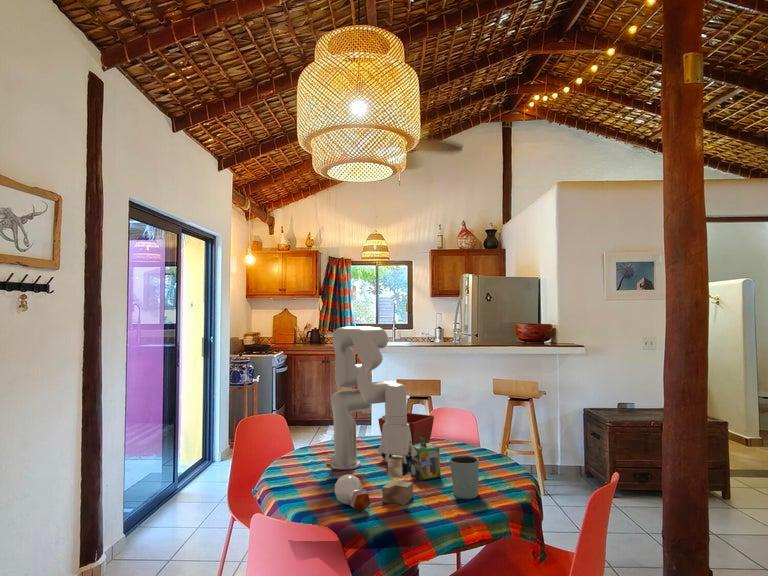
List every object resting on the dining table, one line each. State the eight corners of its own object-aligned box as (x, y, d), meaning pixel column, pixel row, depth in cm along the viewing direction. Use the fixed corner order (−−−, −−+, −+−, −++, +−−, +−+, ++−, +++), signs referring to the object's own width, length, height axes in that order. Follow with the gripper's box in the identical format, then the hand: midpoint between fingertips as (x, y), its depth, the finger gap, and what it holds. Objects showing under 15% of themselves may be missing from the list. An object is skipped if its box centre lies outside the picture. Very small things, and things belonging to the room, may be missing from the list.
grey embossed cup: (473, 501, 163) (472, 464, 164) (445, 496, 168) (444, 460, 169) (484, 492, 172) (482, 457, 173) (457, 487, 177) (456, 453, 178)
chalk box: (441, 477, 189) (440, 438, 189) (419, 480, 185) (418, 441, 186) (430, 470, 197) (429, 433, 198) (409, 473, 194) (408, 436, 195)
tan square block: (382, 502, 165) (382, 487, 165) (392, 494, 172) (391, 479, 172) (404, 505, 161) (403, 490, 162) (413, 497, 169) (412, 482, 169)
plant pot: (401, 447, 235) (400, 411, 236) (435, 452, 224) (434, 415, 225) (377, 456, 219) (377, 418, 220) (413, 463, 208) (412, 423, 209)
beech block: (388, 476, 166) (387, 458, 166) (393, 472, 170) (393, 454, 171) (401, 478, 164) (401, 459, 164) (407, 473, 168) (406, 456, 169)
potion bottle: (344, 501, 170) (365, 521, 157) (324, 490, 165) (343, 509, 152) (359, 477, 172) (380, 495, 159) (339, 465, 168) (359, 482, 155)
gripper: (369, 420, 169) (370, 474, 167) (415, 423, 162) (416, 479, 160) (378, 416, 175) (380, 468, 174) (423, 419, 168) (424, 473, 167)
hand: (397, 473), depth 167 cm, fingers closed on beech block, 5 cm apart
